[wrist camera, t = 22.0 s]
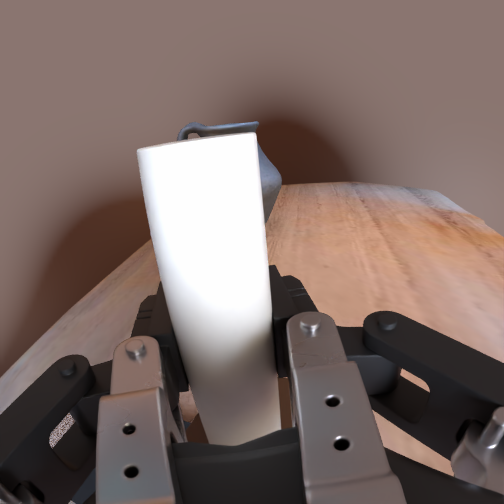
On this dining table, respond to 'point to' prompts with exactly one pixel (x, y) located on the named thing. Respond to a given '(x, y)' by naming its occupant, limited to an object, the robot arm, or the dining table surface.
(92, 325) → the dining table surface
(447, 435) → the robot arm
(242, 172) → the tall white pillar
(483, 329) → the dining table surface
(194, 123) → the pitcher
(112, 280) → the dining table surface
